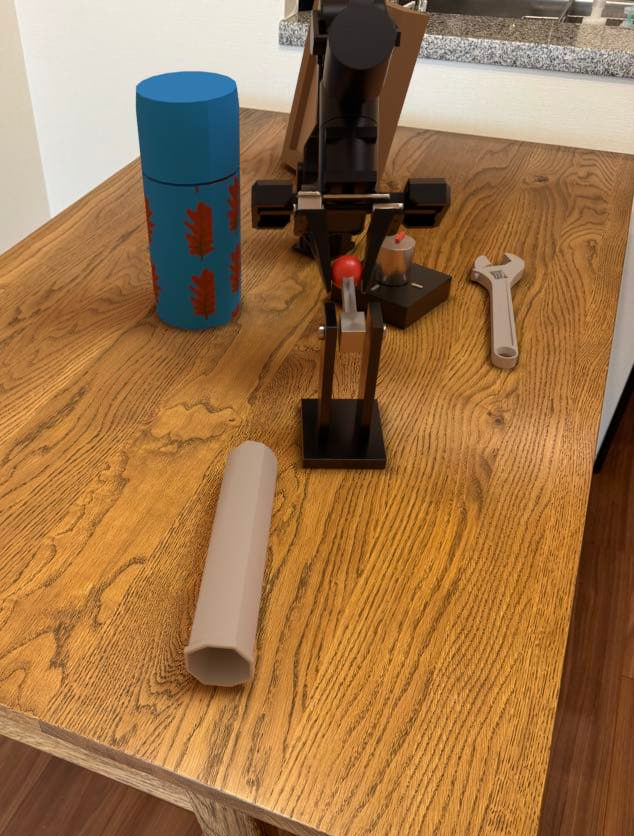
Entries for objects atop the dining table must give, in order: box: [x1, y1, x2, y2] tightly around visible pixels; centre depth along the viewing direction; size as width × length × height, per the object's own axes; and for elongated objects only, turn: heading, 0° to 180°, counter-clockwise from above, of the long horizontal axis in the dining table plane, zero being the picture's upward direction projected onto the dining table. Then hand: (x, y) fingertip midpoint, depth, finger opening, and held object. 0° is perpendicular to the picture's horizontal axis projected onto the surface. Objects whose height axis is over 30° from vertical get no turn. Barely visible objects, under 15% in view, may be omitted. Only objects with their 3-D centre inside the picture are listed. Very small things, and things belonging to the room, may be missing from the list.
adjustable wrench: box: [469, 252, 526, 370], centre depth 95 cm, size 25×6×2 cm, turn 164°
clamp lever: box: [331, 254, 366, 354], centre depth 73 cm, size 12×3×3 cm, turn 178°
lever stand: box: [300, 301, 388, 470], centre depth 74 cm, size 10×8×14 cm
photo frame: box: [280, 0, 430, 190], centre depth 116 cm, size 15×22×25 cm
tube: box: [183, 439, 278, 688], centre depth 66 cm, size 5×5×25 cm
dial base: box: [329, 259, 453, 331], centre depth 97 cm, size 11×10×3 cm
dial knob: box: [374, 231, 417, 286], centre depth 94 cm, size 4×4×5 cm
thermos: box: [135, 70, 242, 331], centre depth 89 cm, size 11×11×25 cm
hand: (346, 292), depth 76 cm, fingers closed on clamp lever, 3 cm apart
